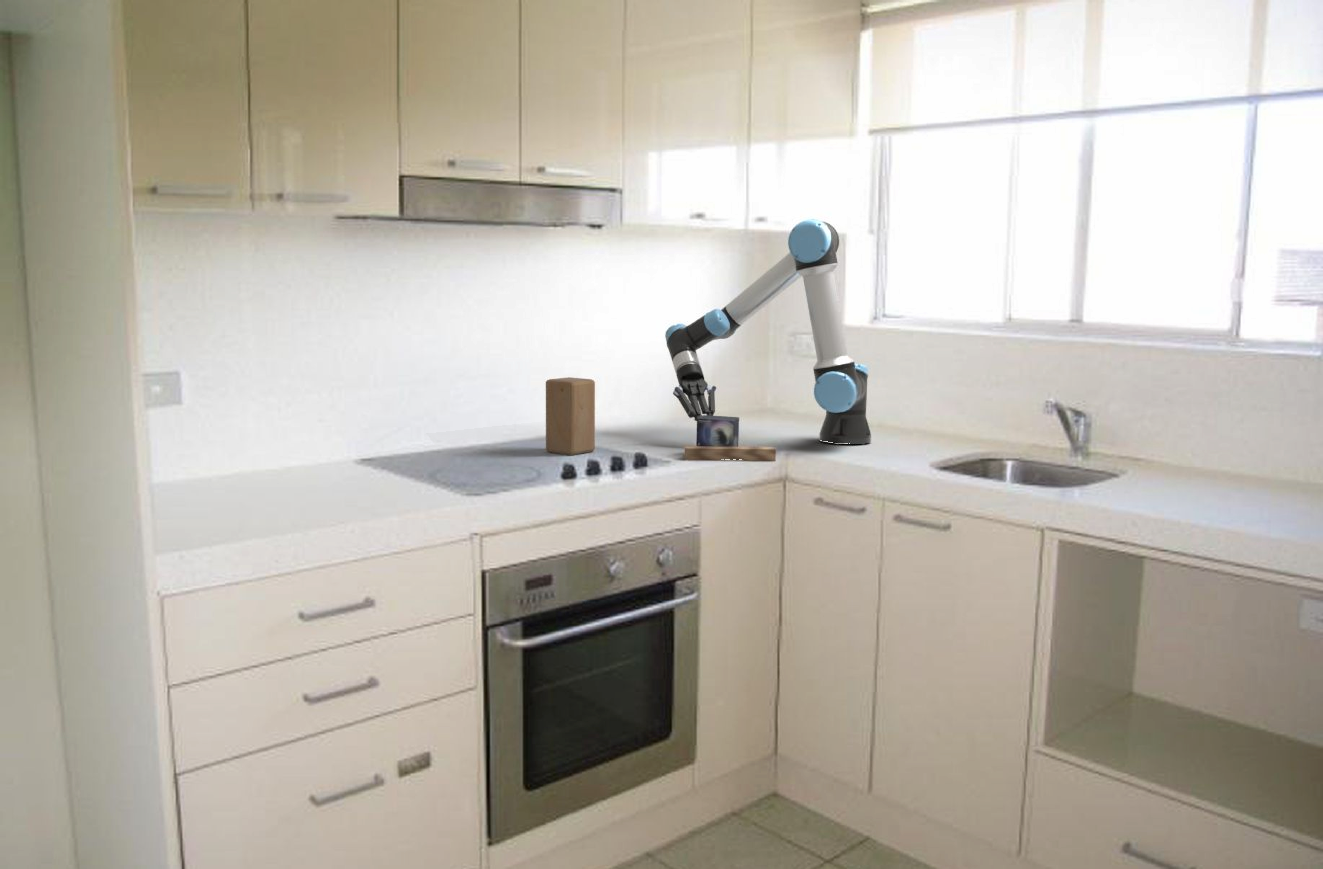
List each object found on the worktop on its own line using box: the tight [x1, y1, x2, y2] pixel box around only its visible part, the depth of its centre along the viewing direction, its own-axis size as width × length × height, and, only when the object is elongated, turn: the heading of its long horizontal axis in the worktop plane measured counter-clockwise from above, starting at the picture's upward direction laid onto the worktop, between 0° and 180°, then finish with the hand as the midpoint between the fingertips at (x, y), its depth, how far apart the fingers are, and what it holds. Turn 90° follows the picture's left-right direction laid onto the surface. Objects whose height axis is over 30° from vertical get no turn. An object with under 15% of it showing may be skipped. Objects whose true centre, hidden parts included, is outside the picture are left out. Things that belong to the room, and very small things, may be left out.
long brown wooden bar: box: [683, 445, 777, 462], centre depth 293 cm, size 24×4×4 cm, turn 89°
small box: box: [695, 415, 740, 447], centre depth 299 cm, size 11×6×10 cm, turn 71°
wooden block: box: [545, 377, 596, 456], centre depth 301 cm, size 10×10×20 cm
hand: (708, 435), depth 307 cm, fingers closed
